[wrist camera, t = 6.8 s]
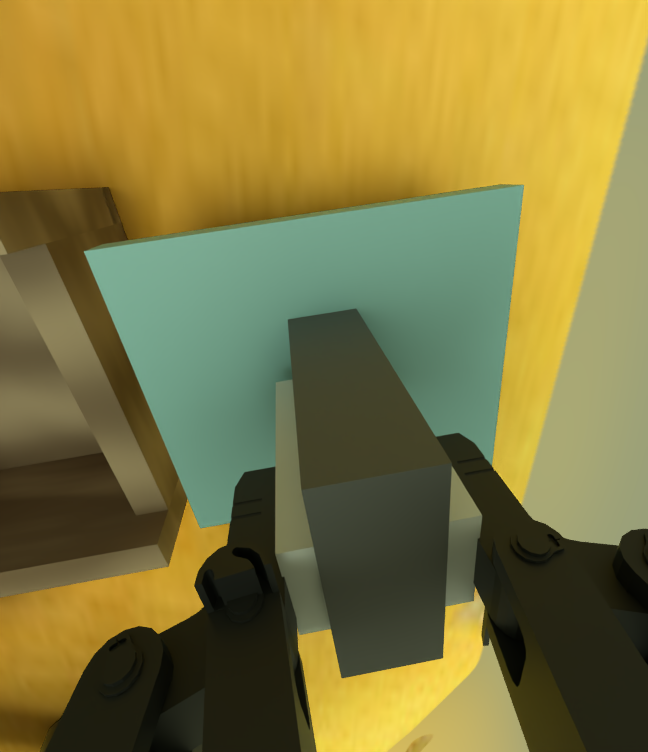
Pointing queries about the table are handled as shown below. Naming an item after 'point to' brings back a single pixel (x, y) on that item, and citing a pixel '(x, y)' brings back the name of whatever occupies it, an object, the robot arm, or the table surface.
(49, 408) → the walnut box
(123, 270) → the cover plate
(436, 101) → the table surface
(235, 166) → the table surface
